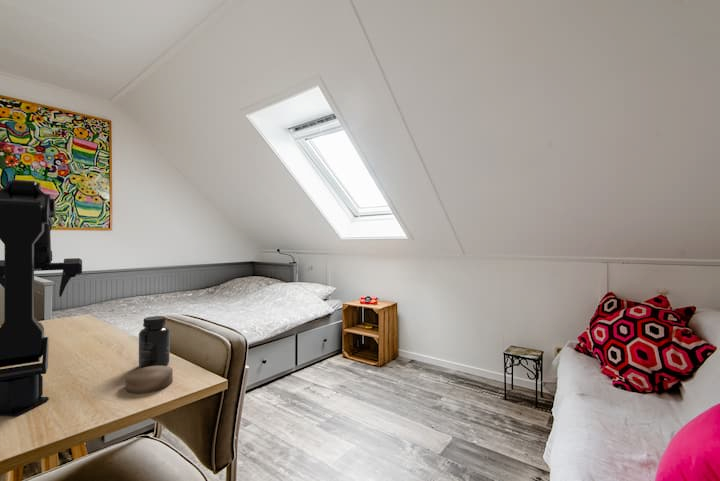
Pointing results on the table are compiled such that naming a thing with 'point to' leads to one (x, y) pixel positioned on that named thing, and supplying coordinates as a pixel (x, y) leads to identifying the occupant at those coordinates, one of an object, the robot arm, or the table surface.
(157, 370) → the walnut stand
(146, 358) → the supplement bottle
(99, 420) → the table surface
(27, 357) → the robot arm
